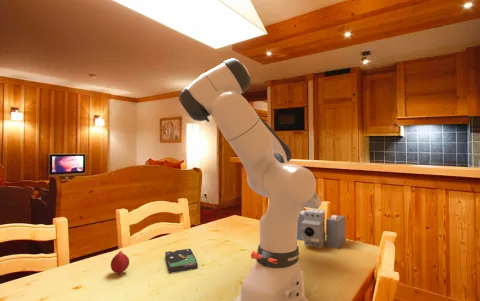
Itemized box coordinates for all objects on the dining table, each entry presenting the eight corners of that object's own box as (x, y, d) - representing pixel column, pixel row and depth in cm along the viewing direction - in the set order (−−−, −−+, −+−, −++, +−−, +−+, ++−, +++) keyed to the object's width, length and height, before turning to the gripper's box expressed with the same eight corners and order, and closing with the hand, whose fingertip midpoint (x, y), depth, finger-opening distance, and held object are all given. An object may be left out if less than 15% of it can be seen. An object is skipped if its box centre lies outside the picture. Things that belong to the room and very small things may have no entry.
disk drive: (164, 258, 103) (169, 275, 90) (164, 251, 104) (169, 266, 90) (190, 254, 107) (198, 269, 94) (190, 248, 107) (198, 261, 94)
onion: (117, 279, 86) (117, 255, 86) (107, 275, 88) (106, 252, 88) (132, 272, 91) (132, 249, 91) (122, 268, 94) (121, 246, 93)
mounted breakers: (337, 248, 111) (337, 218, 111) (295, 238, 124) (295, 211, 124) (345, 242, 119) (345, 213, 119) (304, 233, 132) (304, 207, 132)
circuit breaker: (300, 249, 111) (300, 214, 111) (308, 239, 123) (308, 208, 123) (318, 253, 107) (318, 216, 107) (325, 242, 120) (325, 209, 119)
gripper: (317, 184, 94) (327, 206, 102) (269, 180, 107) (281, 200, 115) (312, 198, 91) (323, 220, 98) (263, 192, 104) (276, 212, 111)
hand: (300, 209), depth 107 cm, fingers closed
